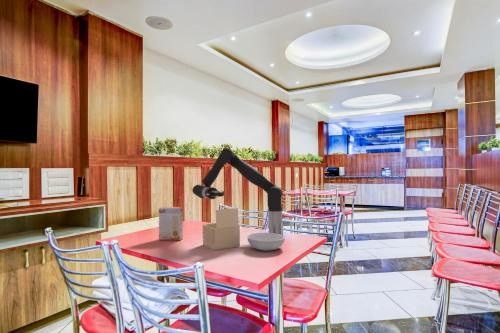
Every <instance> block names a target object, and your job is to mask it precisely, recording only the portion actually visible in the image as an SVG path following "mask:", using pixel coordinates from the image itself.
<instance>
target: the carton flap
mask: <svg viewBox="0 0 500 333" xmlns="http://www.w3.org/2000/svg"><path fill="white" fill-rule="evenodd" d="M239 221H240V220H239V208H238V207H235V208H224V209H222V208H221V209H216V210H215V223H216V228H224V227H231V226H238V225H240V224H239Z"/></svg>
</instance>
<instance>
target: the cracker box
mask: <svg viewBox="0 0 500 333" xmlns="http://www.w3.org/2000/svg"><path fill="white" fill-rule="evenodd" d="M183 210H184V209H183V206H162V207H159V208H158V241H160V242H161V241H162V242H163V241H169V242H170V241H176V242H179V241H181V240H183V239H184V226H183V225H184V223H183V222H184V219H183V217H184V214H183Z"/></svg>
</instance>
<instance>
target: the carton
mask: <svg viewBox="0 0 500 333" xmlns="http://www.w3.org/2000/svg"><path fill="white" fill-rule="evenodd" d="M240 226H241V225H240V224H239V225H238V226H231V227H224V228H216V222H211V223H205V224H202V244H203V246H205V247H206V248H208V249H210V250H212V251H214V252H217V251H222V250H226V249H227V250H228V249H233V248H238V247H240V246H241V240H240V239H241V237H240V236H241V232H240V230H241V228H240Z"/></svg>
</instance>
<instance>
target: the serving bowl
mask: <svg viewBox="0 0 500 333" xmlns="http://www.w3.org/2000/svg"><path fill="white" fill-rule="evenodd" d="M285 239H286V238H285V236H284V234H283V235H280V234H275V233H269V232H256V233H251V234H249V235H247V242H248V244H249V245H250V246H251V247H252V248H253V249H257V250H259V251H264V252H266V251H267V252H269V251H273V250H277V249H279V248H281V247H282V246H283V244H284V242H285Z"/></svg>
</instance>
